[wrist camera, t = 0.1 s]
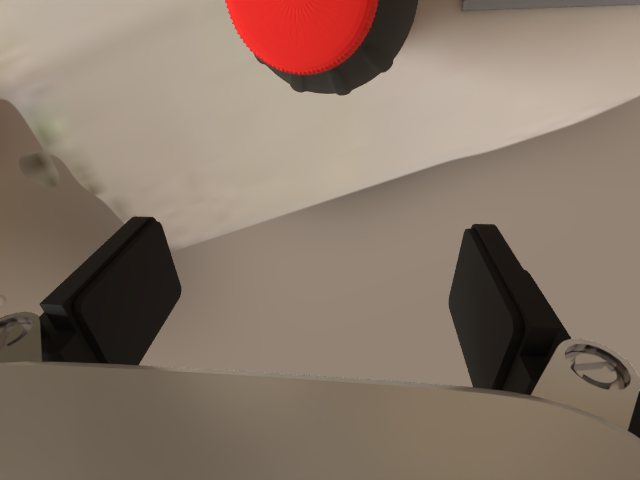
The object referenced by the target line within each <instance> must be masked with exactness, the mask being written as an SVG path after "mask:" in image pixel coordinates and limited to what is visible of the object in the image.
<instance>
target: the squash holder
mask: <svg viewBox="0 0 640 480" xmlns="http://www.w3.org/2000/svg"><path fill="white" fill-rule="evenodd" d="M615 5H640V0H463V4H462V11H464V10H494V9H525V8H555V7H585V6H615Z"/></svg>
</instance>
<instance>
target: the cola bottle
mask: <svg viewBox="0 0 640 480" xmlns="http://www.w3.org/2000/svg"><path fill="white" fill-rule="evenodd" d="M225 2H226V3H227V8H228V9H229V12H228V13H229V14H230V16H231V17H230V18H231V19H232V20H233V23H232V24H234V25H235V29H236V30H237V33H238V34H239V35H240V38H241V39H243V42H244V43H246V46H247V47H248V48H250V51H252V52H253V53H254V55H255V57H256V59H257V60H258V61H259V62H260V63H262V64H265V65H267V66H268V67H269V68H270V69H271V70H272V71H273V72H274V73H275V74H276V75H278V76H279V77H280V78H282V79H283V80H284V81H286V82H287V83H289V84H290V85H291V87H292V88H293V89H294V90H295V91H297V92H305V91H309V92H314V93H323V94H333V93H336V94H338V95H347V94H349V93H350V92H351V91H352V90H353V89H355V88H357V87H359V86H361V85H363V84H365V83H367V82H369V81H370V80H372V79H373V78H375V77H376V76H377V75H379V74H380V73H382V72H386V71H387V70H389V69H390V68H391V66H392V64H393V60H394V58H395V57H396V55H397V54H398V52H399V51H400V49H401V47H402V46H403V44H404V42H405V40H406V38H407V36H408V34H409V32H410V29H411V26H412V24H413V21H414V17H415V13H416V9H417V4H418V0H225Z"/></svg>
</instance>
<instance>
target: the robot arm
mask: <svg viewBox="0 0 640 480" xmlns="http://www.w3.org/2000/svg"><path fill="white" fill-rule="evenodd" d="M180 295H181V285H180V282H179V279H178V275H177V272H176V269H175V266H174V263H173V259H172V256H171V253H170V250H169V247H168V243H167V240H166V237H165V234H164V231H163V227H162V225H161V223H160V222H157V221H156V220H155V218H153V217H132V218H131V219H130V220H129V221H128V222H127V223H126V224H124V226H122V227H121V228H120V229H119V230H118V231H117V232H116V233H115V234H114V235H113V236H112V237H111V238H110V239H108V241H106V242H105V243H104V244H103V245H102V246H101V247H100V248H99V249H98V250H97V251H96V252H95V253H94V254H92V256H90V257H89V258H88V259H87V260H86V261H85V262H84V263H83V264H82V265H81V266H80V267H79V268H77V270H75V271H74V272H73V273H72V274H71V275H70V276H69V277H68V278H67V279H66V280H65V281H64V282H63V283H61V284H60V285H59V286H58V287H57V288H56V289H55V290H54V291H53V292H52V293H51V294H50V295H49V296H48V297H46V299H44V300H43V301H42V302H41V303H40V306H41V307H42V309H43V310H44V313H43V314H42V315H41V316H40V317H38V315H36V314H34V313H30V312H21V313H14V314H11V315H7V316H4V317H2V318H0V480H640V391H639V390H640V378H639V376H638V374H637V372H636V370H635V369H634V367H633V366H632V365H631V364H630V363H629V362H628V361H627V360H626V359H625V358H623V357H622V356H621V355H620V354H618V353H617V352H616V351H614V350H612V349H610V348H608V347H607V346H604V345H602V344H599V343H596V342H594V341H590V340H585V339H571V337H570V336H569V334H568V333H567V331H566V330H565V328H564V326H563V325H562V323H561V322H560V320H559V319H558V317H557V316H556V314H555V312H554V311H553V309H552V308H551V306H550V305H549V303H548V302H547V300H546V298H545V297H544V295H543V294H542V292H541V291H540V289H539V287H538V286H537V284H536V283H535V281H534V280H533V278H532V277H531V275H530V274H529V273H528V272H527V271H526V270H524V269H523V268H522V266H521V265H520V263H519V261H518V260H517V259H516V257H515V255H514V254H513V252H512V251H511V249H510V247H509V246H508V244H507V243H506V241H505V240H504V238H503V236H502V235H501V233H500V232H499V230H498V228H497V227H496V226H495V225H492V224H474V225H472V227H471V229H466V230H465V232H464V235H463V240H462V244H461V248H460V253H459V257H458V261H457V266H456V270H455V274H454V278H453V283H452V287H451V291H450V296H449V309H450V312H451V316H452V319H453V322H454V325H455V329H456V332H457V335H458V338H459V342H460V345H461V348H462V352H463V355H464V359H465V362H466V365H467V368H468V372H469V375H470V378H471V382H472V385H473V387H463V386H451V385H438V384H426V383H415V382H401V381H385V380H370V379H355V378H341V377H340V378H339V377H326V376H310V375H294V374H278V373H277V374H276V373H261V372H245V371H228V370H212V369H195V368H176V367H157V366H140V365H139V363H140V361H141V360H142V358H143V357H144V355H145V353H146V352H147V350H148V348H149V347H150V345H151V344H152V342H153V340H154V339H155V337H156V335H157V334H158V332H159V330H160V329H161V327H162V326H163V324H164V322H165V321H166V319H167V317H168V316H169V314H170V313H171V311H172V309H173V308H174V306H175V304H176V303H177V301H178V299H179V298H180Z"/></svg>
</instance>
